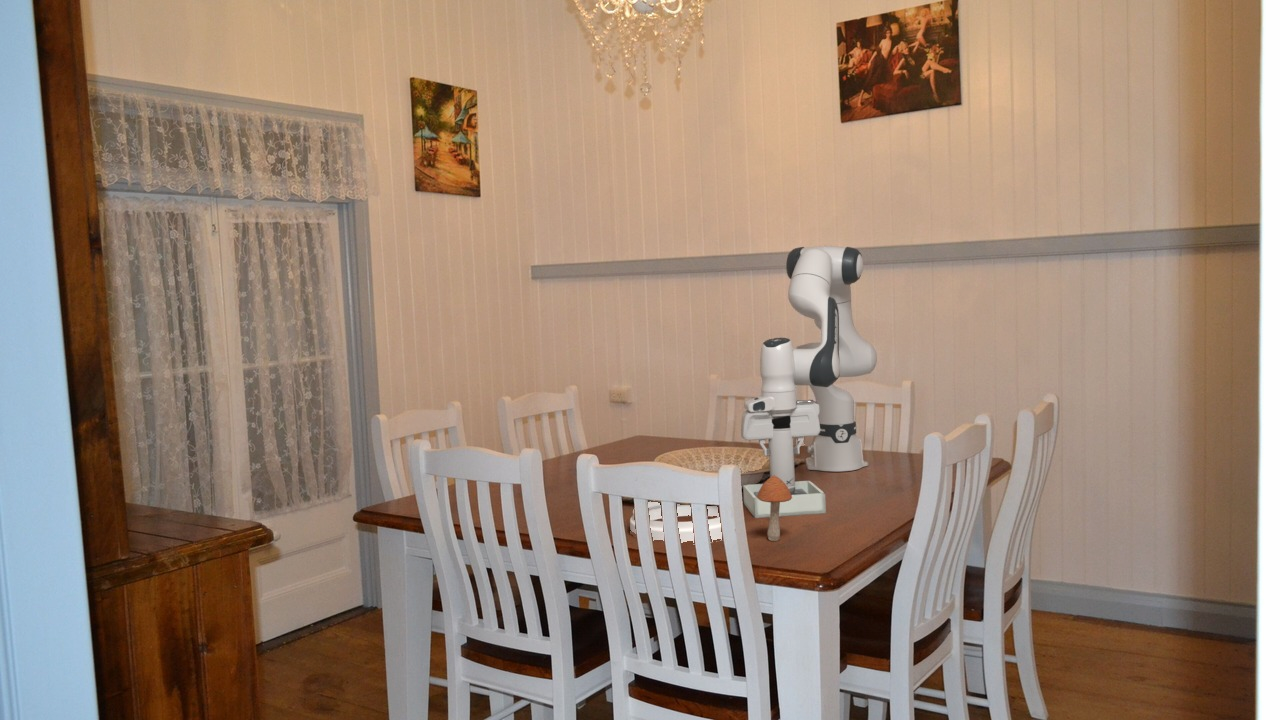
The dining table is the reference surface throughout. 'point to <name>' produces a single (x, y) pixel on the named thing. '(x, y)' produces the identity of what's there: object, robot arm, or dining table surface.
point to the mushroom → (774, 503)
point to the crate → (802, 502)
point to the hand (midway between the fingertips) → (781, 454)
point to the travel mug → (782, 452)
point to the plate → (684, 527)
